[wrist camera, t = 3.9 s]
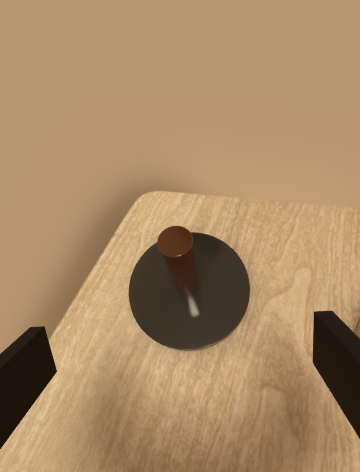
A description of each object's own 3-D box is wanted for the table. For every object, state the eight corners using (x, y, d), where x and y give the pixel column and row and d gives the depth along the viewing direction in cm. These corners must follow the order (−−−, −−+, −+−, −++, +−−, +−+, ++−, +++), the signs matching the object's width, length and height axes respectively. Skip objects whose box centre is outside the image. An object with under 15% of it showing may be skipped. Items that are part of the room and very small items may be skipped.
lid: (118, 341, 24) (62, 320, 15) (145, 234, 30) (117, 175, 21) (248, 361, 21) (271, 349, 13) (248, 240, 28) (263, 177, 19)
